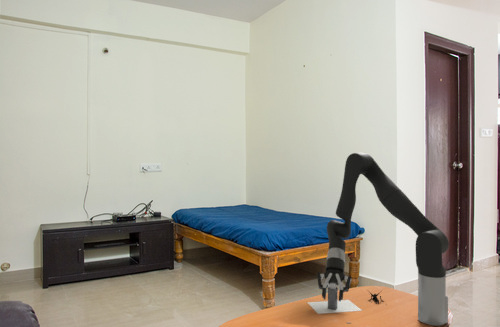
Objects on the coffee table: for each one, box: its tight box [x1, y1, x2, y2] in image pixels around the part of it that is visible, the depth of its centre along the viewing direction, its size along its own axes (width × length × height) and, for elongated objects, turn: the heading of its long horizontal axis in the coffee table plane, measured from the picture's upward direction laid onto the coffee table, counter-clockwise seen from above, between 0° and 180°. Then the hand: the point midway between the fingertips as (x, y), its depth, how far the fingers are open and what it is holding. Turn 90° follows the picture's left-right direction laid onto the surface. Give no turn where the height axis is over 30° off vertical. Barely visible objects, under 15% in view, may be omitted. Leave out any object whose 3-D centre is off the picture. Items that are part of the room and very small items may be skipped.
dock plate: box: [307, 299, 363, 315], centre depth 152 cm, size 18×12×1 cm, turn 101°
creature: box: [367, 290, 388, 306], centre depth 158 cm, size 8×5×8 cm
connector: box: [327, 283, 339, 310], centre depth 151 cm, size 5×4×9 cm
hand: (332, 299), depth 149 cm, fingers open, 5 cm apart
